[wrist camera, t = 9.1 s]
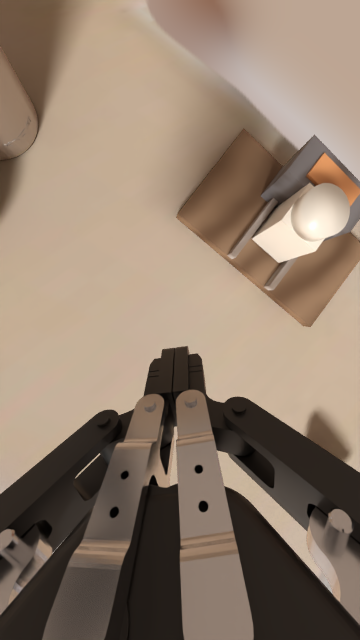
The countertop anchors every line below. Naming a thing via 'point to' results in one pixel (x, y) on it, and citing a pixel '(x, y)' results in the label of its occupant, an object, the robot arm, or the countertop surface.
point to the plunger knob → (304, 221)
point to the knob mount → (255, 207)
